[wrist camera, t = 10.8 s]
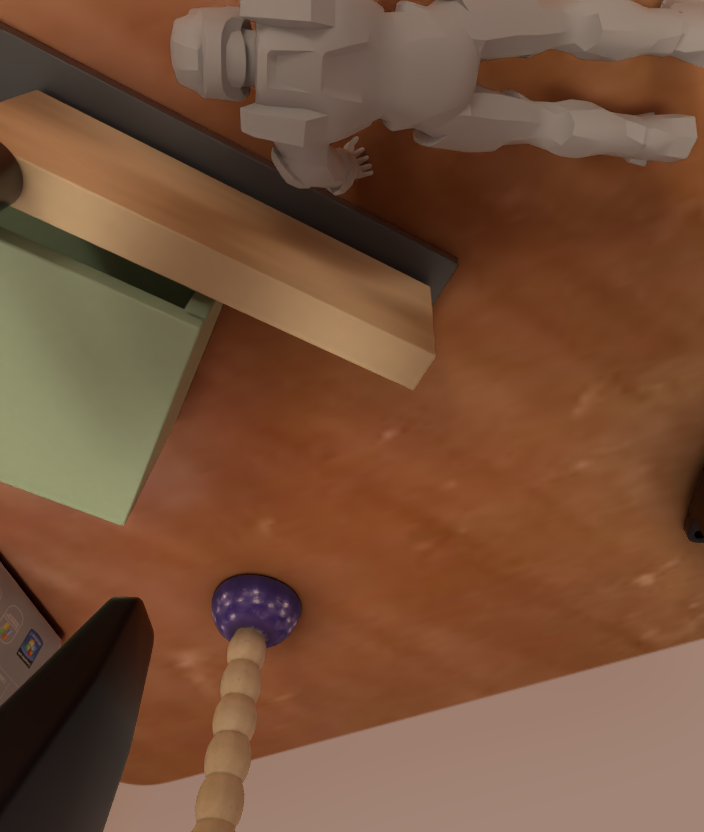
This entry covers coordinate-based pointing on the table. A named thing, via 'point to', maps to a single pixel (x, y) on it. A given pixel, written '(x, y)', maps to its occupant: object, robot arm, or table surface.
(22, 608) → the hard drive box
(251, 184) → the cabinet
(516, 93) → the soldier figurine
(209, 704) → the table surface
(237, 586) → the toy lamp
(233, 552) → the table surface
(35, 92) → the door
